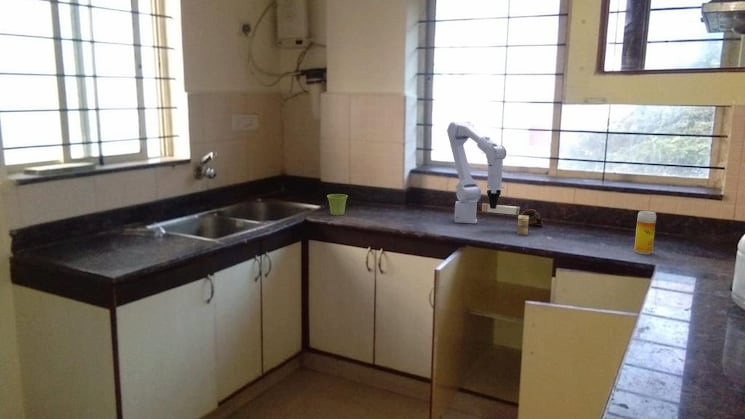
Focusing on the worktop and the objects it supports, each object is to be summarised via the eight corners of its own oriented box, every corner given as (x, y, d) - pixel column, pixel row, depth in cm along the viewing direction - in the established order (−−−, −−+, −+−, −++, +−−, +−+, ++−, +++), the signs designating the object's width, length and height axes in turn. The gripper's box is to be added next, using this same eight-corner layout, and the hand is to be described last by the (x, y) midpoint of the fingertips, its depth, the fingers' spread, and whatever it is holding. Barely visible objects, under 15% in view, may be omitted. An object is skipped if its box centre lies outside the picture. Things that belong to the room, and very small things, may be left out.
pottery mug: (547, 229, 256) (542, 214, 252) (527, 238, 257) (521, 223, 253) (537, 216, 267) (532, 201, 263) (517, 225, 267) (512, 210, 264)
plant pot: (346, 216, 272) (347, 197, 270) (326, 216, 272) (326, 197, 270) (348, 212, 281) (348, 194, 279) (327, 212, 281) (327, 193, 280)
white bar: (481, 211, 251) (482, 204, 250) (482, 209, 253) (482, 203, 253) (518, 215, 248) (519, 208, 247) (518, 213, 250) (519, 206, 250)
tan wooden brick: (517, 234, 244) (518, 218, 243) (517, 230, 251) (518, 214, 250) (527, 234, 243) (528, 219, 242) (527, 230, 250) (528, 215, 249)
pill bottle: (650, 255, 215) (655, 214, 212) (632, 253, 218) (636, 212, 215) (653, 252, 220) (657, 211, 217) (635, 249, 223) (639, 209, 220)
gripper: (504, 178, 240) (502, 211, 243) (504, 173, 254) (503, 205, 257) (486, 177, 242) (484, 210, 245) (487, 172, 256) (486, 204, 258)
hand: (493, 207), depth 251 cm, fingers closed on white bar, 3 cm apart
